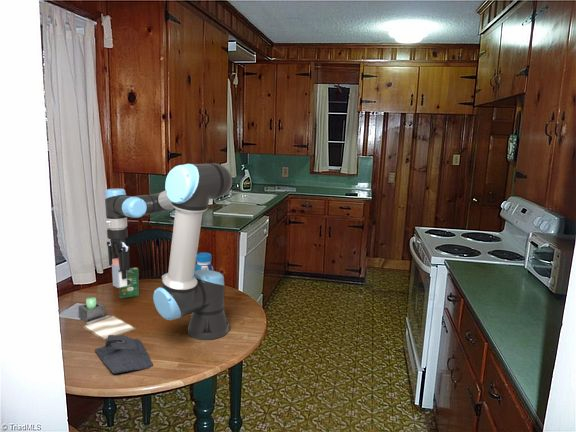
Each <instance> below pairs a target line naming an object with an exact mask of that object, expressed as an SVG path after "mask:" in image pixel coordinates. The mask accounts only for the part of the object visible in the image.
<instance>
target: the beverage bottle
mask: <svg viewBox="0 0 576 432" xmlns="http://www.w3.org/2000/svg"><path fill="white" fill-rule="evenodd" d="M211 262H212V254H211V253H209V252H197V257H196V264H195V271H197V270H211V271H214V266H213V264H212V263H211Z"/></svg>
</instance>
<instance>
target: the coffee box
mask: <svg viewBox="0 0 576 432" xmlns="http://www.w3.org/2000/svg"><path fill="white" fill-rule="evenodd" d="M139 287H140V286H139V268H138V267H130V269H129V270H127V286H124V287H120V288H118V289H119V298H120V299H127V298H133V297H139V295H140V294H139V293H140V292H139Z"/></svg>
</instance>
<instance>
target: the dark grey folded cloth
mask: <svg viewBox="0 0 576 432" xmlns="http://www.w3.org/2000/svg"><path fill="white" fill-rule="evenodd" d="M141 340H142V339H138V338H131V337H129V336H127V335H125V334H122V335H109V336H108V339H107V340H105V345H104V346H101V347H97V348H95V349H94V351H95V353H96V354H97V356H98V357H99V359H100V360H101V361H102V362H103V364H104V365H105V366H106V367H107V368H108V370H109V371H110V372H111V373H112V374H115V375H116V374H120V373H125V372H132V371H139V370H146V369H147V370H148V369H149V368H151V367H154V363H153V361H152V359H151V357H150V355H149V353H148V351H147V349H146V347H145V345H144V344H143V342H142V341H141Z"/></svg>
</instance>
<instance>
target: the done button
mask: <svg viewBox="0 0 576 432" xmlns="http://www.w3.org/2000/svg"><path fill="white" fill-rule="evenodd" d="M96 302H97V298H96V296H89V297H87V298H85V304H86V307H87V308H88V309H91V308H94V307H97V306H96Z"/></svg>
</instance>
